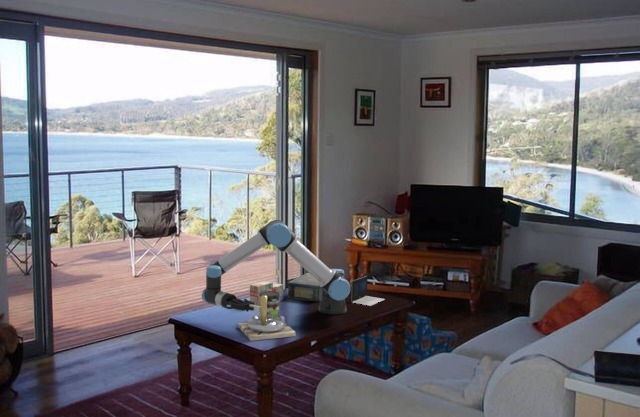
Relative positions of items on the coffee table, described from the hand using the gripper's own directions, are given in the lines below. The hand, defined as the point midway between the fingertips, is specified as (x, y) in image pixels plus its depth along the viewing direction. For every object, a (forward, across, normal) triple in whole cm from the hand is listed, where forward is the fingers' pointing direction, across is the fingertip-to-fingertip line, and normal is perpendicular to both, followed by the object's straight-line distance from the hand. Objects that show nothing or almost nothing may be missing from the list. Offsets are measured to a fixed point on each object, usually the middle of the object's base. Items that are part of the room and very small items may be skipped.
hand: (259, 309), depth 315 cm
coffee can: (-14, -21, -13) cm, 28 cm away
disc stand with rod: (-1, -6, -10) cm, 12 cm away
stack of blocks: (-39, -44, -13) cm, 60 cm away
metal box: (-33, -78, -13) cm, 85 cm away
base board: (-1, -6, -12) cm, 14 cm away
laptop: (0, -87, -12) cm, 88 cm away
